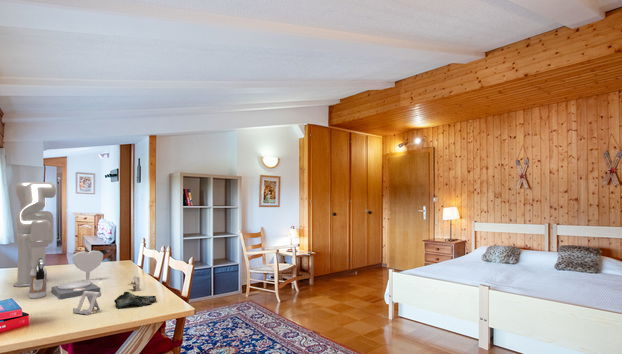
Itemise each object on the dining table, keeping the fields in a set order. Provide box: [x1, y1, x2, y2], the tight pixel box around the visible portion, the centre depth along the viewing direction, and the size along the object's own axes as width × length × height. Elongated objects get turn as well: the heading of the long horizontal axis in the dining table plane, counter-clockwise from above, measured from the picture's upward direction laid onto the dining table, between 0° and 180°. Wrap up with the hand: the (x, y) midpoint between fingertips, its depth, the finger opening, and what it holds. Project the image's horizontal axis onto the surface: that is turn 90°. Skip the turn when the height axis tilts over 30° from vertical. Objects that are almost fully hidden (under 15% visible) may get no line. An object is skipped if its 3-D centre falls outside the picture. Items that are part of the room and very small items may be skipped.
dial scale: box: [51, 280, 101, 300], centre depth 197 cm, size 22×18×4 cm
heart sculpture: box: [72, 250, 104, 283], centre depth 222 cm, size 16×5×18 cm, turn 128°
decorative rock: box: [113, 291, 157, 310], centre depth 175 cm, size 19×6×15 cm
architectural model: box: [126, 276, 141, 292], centre depth 200 cm, size 3×7×7 cm, turn 51°
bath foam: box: [28, 266, 48, 299], centre depth 188 cm, size 7×7×20 cm
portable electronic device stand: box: [72, 291, 102, 316], centre depth 162 cm, size 9×8×8 cm
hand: (38, 278), depth 188 cm, fingers open, 9 cm apart
